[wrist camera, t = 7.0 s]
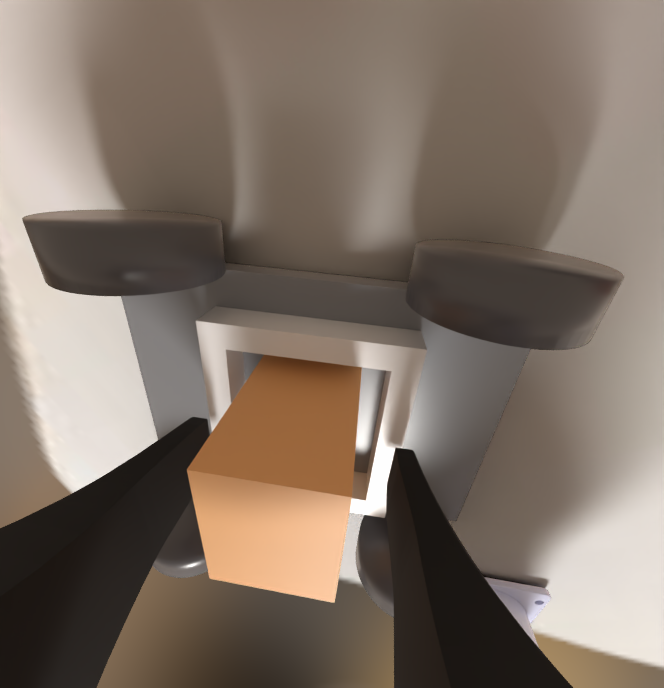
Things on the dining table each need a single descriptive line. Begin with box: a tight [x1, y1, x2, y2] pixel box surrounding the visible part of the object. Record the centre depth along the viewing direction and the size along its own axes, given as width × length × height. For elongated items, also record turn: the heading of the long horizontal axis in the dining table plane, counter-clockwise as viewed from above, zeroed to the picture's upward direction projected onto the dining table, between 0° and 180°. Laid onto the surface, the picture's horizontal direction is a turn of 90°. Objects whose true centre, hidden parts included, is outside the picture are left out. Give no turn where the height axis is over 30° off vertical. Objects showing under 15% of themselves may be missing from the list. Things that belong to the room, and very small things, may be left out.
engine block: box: [187, 355, 362, 603], centre depth 11 cm, size 5×4×6 cm
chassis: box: [22, 210, 624, 618], centre depth 12 cm, size 15×16×5 cm
